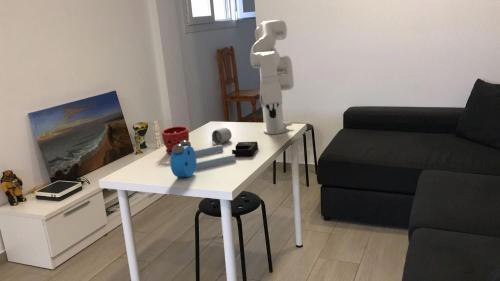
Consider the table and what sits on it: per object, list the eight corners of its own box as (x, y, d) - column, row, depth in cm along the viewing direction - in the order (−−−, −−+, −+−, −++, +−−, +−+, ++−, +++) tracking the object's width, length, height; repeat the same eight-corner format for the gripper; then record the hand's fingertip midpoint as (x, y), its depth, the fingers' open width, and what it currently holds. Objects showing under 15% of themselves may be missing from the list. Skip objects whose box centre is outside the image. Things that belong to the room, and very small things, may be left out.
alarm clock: (185, 170, 199) (181, 138, 195) (198, 170, 197) (194, 137, 193) (172, 181, 187) (167, 147, 183) (186, 182, 185) (180, 147, 181)
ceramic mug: (233, 140, 237) (231, 126, 235) (222, 145, 231) (221, 130, 229) (218, 139, 244) (216, 125, 242) (208, 143, 238) (206, 129, 236)
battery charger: (239, 149, 222) (238, 142, 221) (258, 149, 220) (257, 141, 219) (232, 158, 210) (231, 150, 209) (252, 157, 208) (251, 149, 207)
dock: (222, 150, 223) (221, 144, 222) (235, 161, 205) (235, 154, 204) (185, 158, 217) (184, 152, 216) (196, 169, 199) (195, 163, 198)
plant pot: (159, 154, 227) (156, 131, 224) (180, 147, 236) (176, 125, 233) (175, 158, 218) (172, 134, 215) (196, 150, 227) (193, 127, 224)
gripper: (280, 77, 219) (283, 114, 223) (252, 81, 214) (255, 119, 218) (287, 78, 212) (290, 116, 216) (258, 82, 207) (261, 121, 211)
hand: (273, 117), depth 217 cm, fingers closed
